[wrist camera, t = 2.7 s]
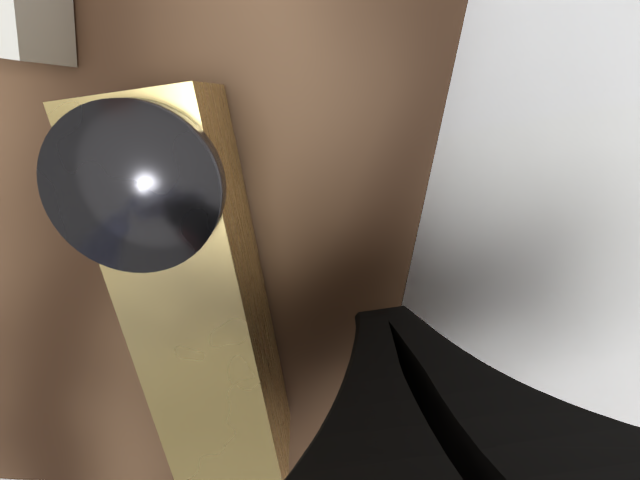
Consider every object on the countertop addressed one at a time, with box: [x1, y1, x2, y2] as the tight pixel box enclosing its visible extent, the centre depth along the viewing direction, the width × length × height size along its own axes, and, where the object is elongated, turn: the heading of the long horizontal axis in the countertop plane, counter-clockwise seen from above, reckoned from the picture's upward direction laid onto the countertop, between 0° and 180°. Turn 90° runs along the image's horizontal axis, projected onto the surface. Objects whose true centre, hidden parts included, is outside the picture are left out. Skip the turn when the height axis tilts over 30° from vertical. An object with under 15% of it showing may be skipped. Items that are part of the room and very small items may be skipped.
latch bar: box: [36, 81, 290, 480], centre depth 9 cm, size 10×3×4 cm, turn 8°
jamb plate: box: [0, 0, 468, 480], centre depth 11 cm, size 18×19×1 cm
